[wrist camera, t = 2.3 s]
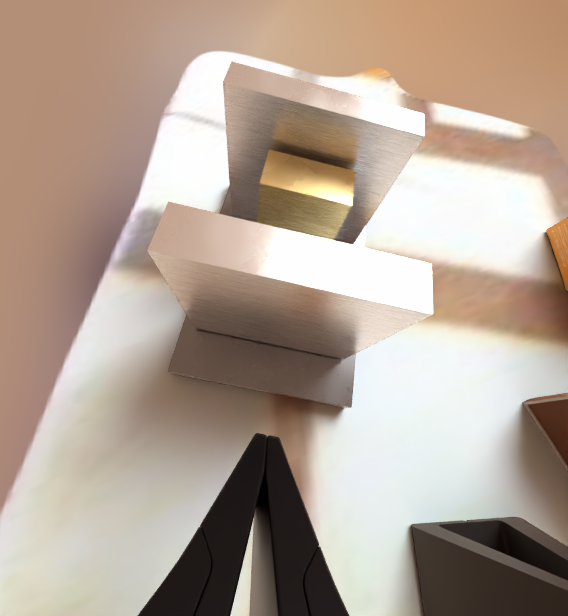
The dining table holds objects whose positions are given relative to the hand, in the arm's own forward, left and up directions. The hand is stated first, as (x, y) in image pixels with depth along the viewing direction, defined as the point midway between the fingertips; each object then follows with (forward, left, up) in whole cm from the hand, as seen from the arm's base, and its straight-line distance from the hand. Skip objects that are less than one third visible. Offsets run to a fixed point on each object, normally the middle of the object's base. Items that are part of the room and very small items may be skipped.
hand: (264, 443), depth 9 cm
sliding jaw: (+5, +6, -11) cm, 13 cm away
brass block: (+10, +12, -11) cm, 19 cm away
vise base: (+8, +10, -12) cm, 18 cm away
